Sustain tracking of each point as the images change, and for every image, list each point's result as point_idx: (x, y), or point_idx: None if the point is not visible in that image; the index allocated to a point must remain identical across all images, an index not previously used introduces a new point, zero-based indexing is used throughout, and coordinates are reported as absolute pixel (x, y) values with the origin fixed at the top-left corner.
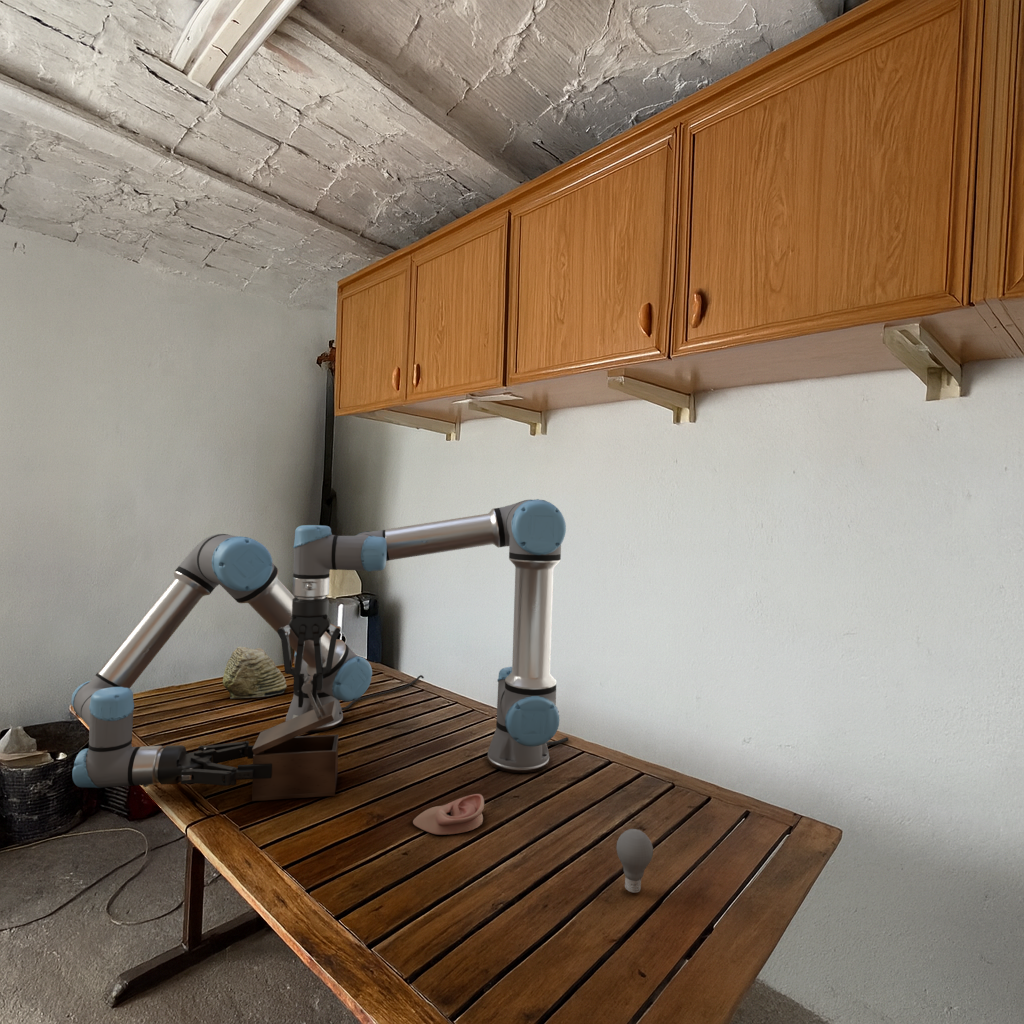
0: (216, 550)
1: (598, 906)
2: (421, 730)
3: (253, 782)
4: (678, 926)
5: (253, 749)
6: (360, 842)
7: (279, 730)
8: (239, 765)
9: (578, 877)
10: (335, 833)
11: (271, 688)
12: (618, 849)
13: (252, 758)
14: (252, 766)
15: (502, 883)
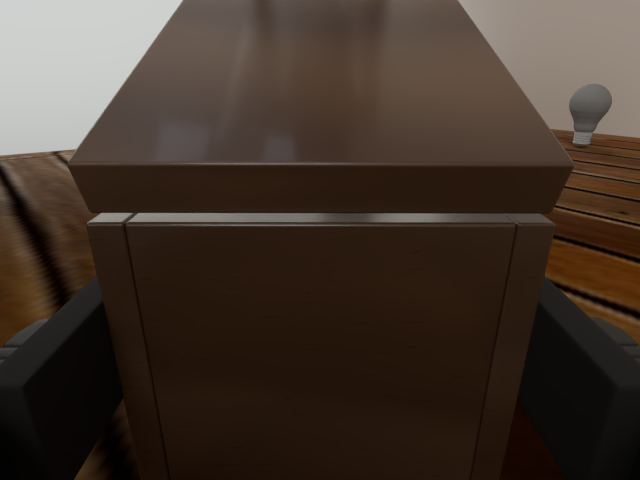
0: None
1: (623, 154)
2: (26, 192)
3: (506, 425)
4: (620, 143)
5: (568, 160)
6: (628, 244)
7: (320, 54)
8: (623, 377)
9: (574, 155)
10: (617, 271)
11: None
12: (603, 102)
13: (85, 455)
14: (572, 303)
15: (631, 175)
